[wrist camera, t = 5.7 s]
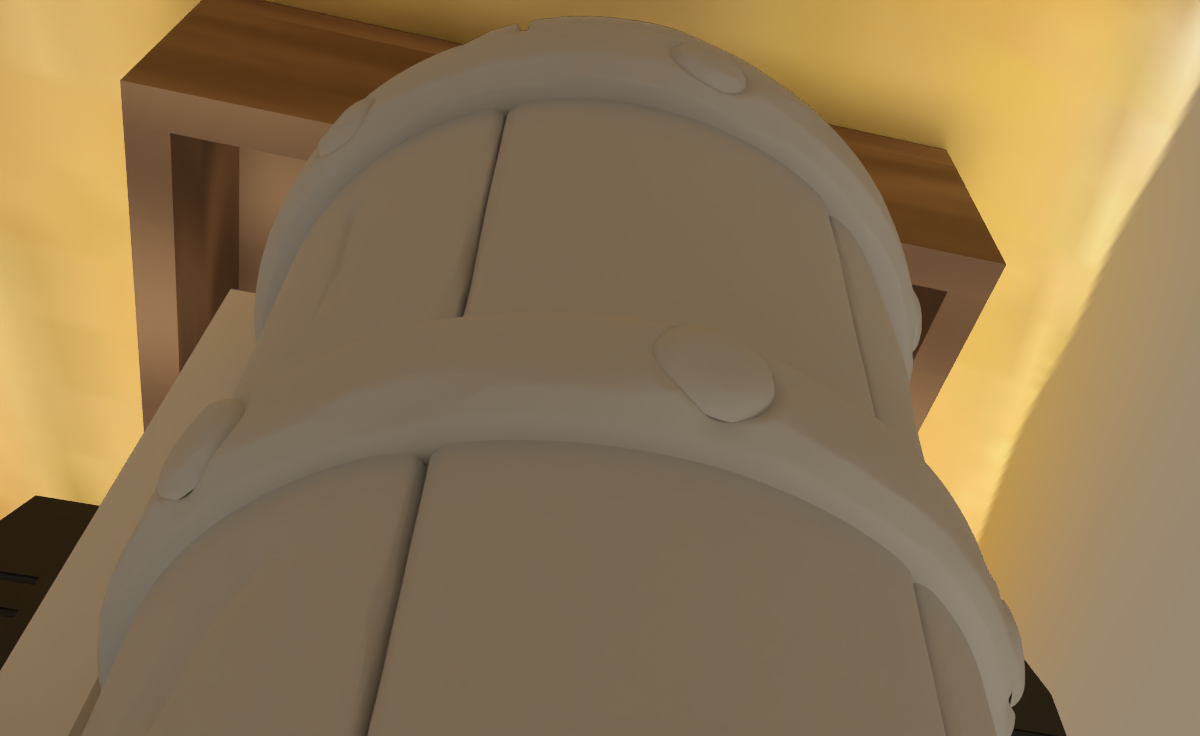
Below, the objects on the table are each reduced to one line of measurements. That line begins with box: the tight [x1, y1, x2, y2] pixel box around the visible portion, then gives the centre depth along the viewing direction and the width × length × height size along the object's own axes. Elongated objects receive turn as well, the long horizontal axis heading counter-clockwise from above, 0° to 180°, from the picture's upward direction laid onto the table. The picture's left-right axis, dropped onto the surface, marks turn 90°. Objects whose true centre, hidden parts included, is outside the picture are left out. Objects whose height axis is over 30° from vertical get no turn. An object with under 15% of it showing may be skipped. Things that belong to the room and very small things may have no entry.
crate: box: [120, 0, 1006, 432], centre depth 31 cm, size 18×20×6 cm
